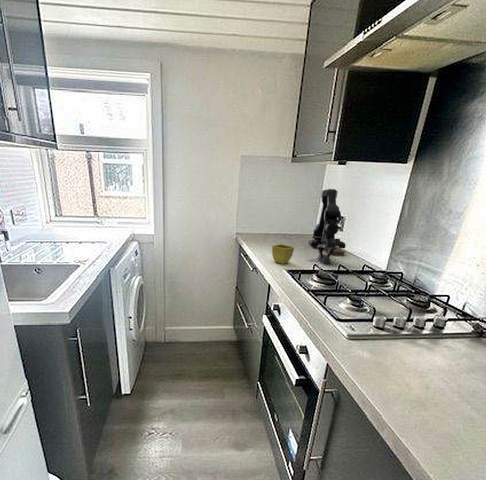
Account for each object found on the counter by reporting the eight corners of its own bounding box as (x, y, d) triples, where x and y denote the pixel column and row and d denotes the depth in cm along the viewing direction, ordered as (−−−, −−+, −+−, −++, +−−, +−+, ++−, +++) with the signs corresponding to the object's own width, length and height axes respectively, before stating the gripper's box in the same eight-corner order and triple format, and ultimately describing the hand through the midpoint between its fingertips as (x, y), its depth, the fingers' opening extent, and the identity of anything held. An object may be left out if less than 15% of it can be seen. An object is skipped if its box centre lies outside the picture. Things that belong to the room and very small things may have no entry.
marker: (317, 258, 176) (318, 253, 175) (323, 258, 176) (324, 253, 175) (323, 264, 166) (324, 258, 165) (329, 264, 165) (330, 258, 164)
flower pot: (279, 259, 171) (280, 243, 168) (292, 262, 165) (294, 246, 162) (270, 261, 165) (271, 245, 162) (283, 265, 159) (285, 249, 156)
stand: (324, 249, 199) (324, 245, 198) (336, 250, 198) (337, 246, 197) (330, 255, 185) (331, 251, 184) (344, 255, 185) (344, 251, 184)
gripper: (315, 233, 158) (311, 261, 163) (351, 235, 157) (346, 264, 162) (310, 229, 168) (306, 256, 173) (344, 231, 168) (339, 258, 173)
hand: (324, 258), depth 170 cm, fingers closed on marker, 3 cm apart
